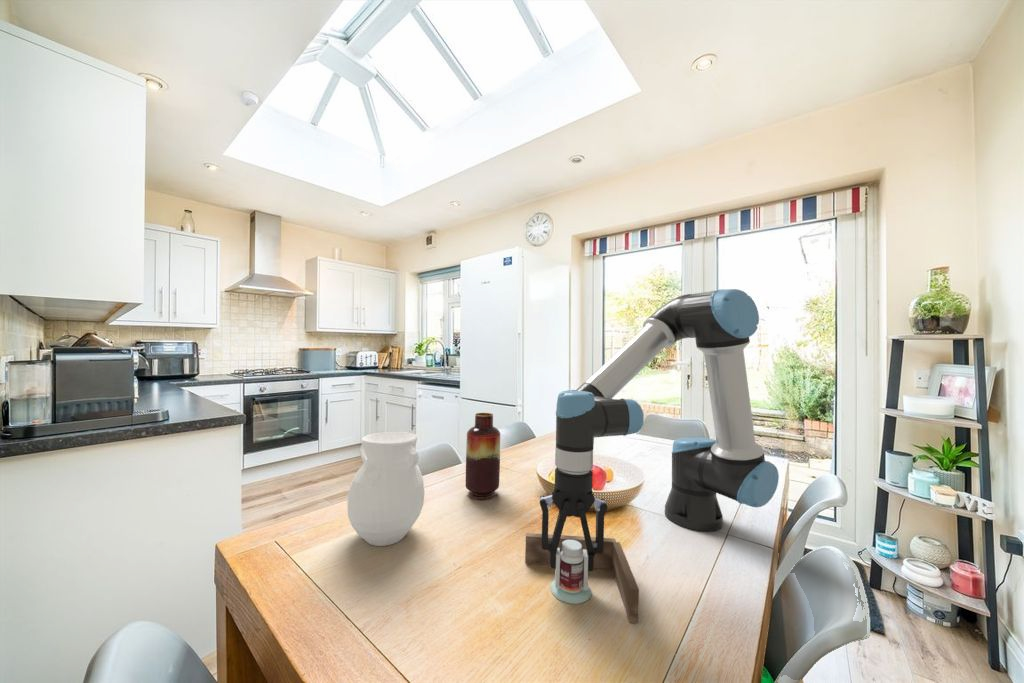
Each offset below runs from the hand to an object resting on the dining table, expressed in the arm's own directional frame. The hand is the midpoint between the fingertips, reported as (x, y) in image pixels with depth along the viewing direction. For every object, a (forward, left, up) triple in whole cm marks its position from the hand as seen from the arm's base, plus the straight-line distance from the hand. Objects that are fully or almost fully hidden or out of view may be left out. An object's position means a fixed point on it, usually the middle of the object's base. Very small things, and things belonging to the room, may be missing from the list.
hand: (570, 584), depth 75 cm
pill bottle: (0, 0, -1) cm, 1 cm away
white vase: (+45, -16, -1) cm, 48 cm away
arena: (-1, -1, -1) cm, 2 cm away
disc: (0, 0, -1) cm, 1 cm away
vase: (+25, -45, -1) cm, 51 cm away
